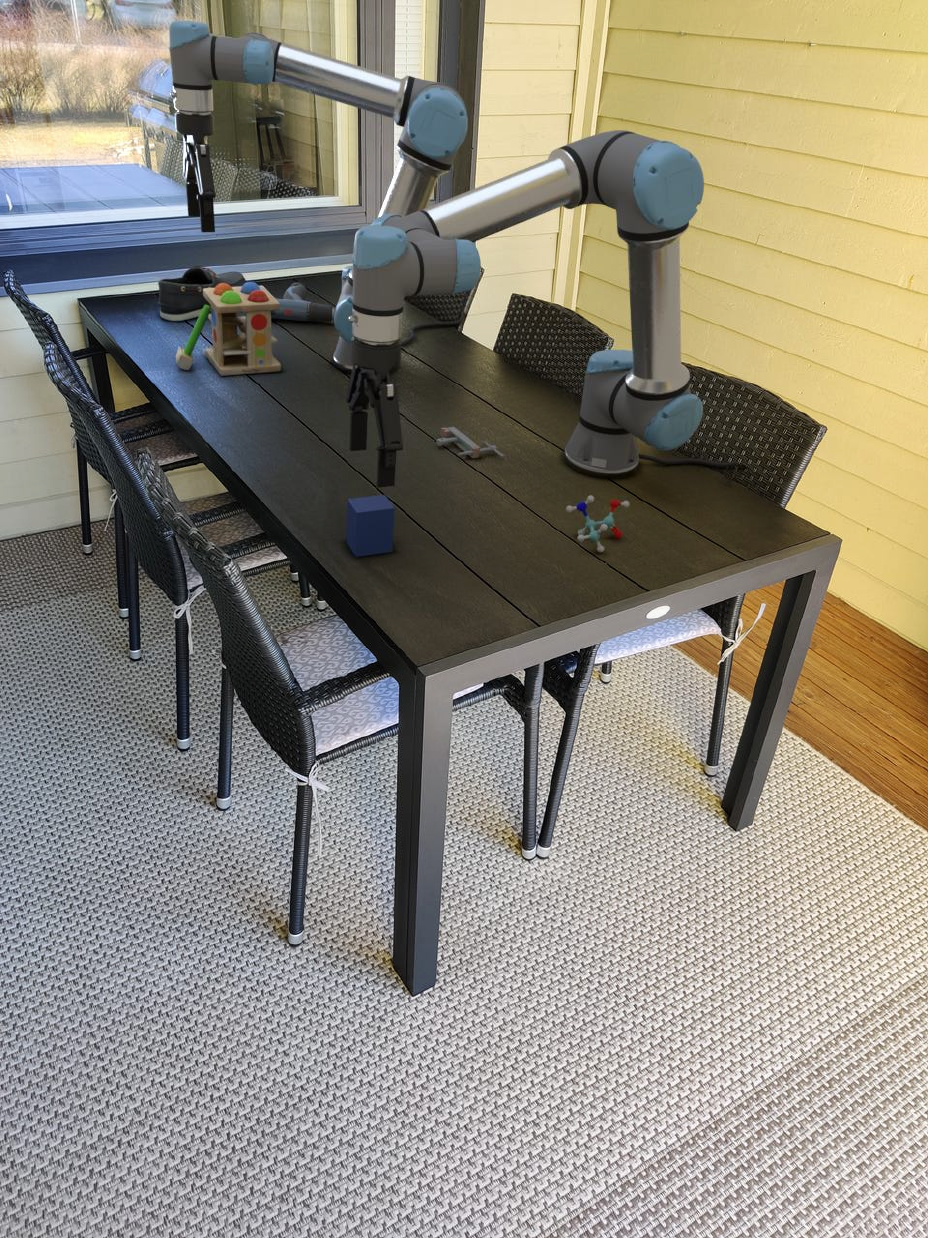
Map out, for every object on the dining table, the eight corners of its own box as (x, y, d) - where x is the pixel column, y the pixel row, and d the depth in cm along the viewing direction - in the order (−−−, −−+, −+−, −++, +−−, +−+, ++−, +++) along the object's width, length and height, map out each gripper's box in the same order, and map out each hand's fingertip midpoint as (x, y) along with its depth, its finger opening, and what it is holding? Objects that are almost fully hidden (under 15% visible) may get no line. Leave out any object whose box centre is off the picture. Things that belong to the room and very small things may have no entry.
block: (346, 542, 167) (347, 499, 162) (382, 537, 170) (384, 494, 165) (355, 557, 164) (356, 512, 159) (392, 551, 166) (394, 507, 161)
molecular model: (629, 546, 167) (611, 490, 165) (576, 561, 170) (559, 506, 169) (639, 535, 177) (623, 482, 176) (590, 549, 181) (573, 498, 179)
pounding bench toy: (183, 379, 220) (176, 299, 210) (169, 357, 231) (162, 280, 221) (282, 371, 230) (280, 294, 220) (264, 350, 240) (262, 276, 230)
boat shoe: (265, 300, 274) (264, 261, 269) (177, 323, 251) (173, 281, 245) (232, 291, 280) (229, 254, 275) (142, 313, 256) (138, 272, 251)
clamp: (428, 429, 204) (470, 423, 208) (427, 439, 205) (469, 432, 209) (464, 459, 193) (507, 451, 198) (463, 469, 194) (506, 461, 199)
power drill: (344, 304, 276) (335, 327, 259) (277, 298, 275) (264, 321, 258) (344, 285, 273) (335, 306, 256) (277, 279, 272) (264, 300, 255)
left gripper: (163, 101, 203) (172, 209, 215) (187, 121, 185) (195, 239, 196) (200, 102, 206) (206, 209, 218) (227, 122, 187) (232, 238, 199)
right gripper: (327, 312, 154) (326, 437, 166) (380, 368, 136) (374, 504, 147) (372, 310, 157) (368, 433, 169) (430, 365, 138) (421, 499, 150)
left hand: (201, 223), depth 207 cm, fingers open, 13 cm apart
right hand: (371, 467), depth 158 cm, fingers open, 13 cm apart
